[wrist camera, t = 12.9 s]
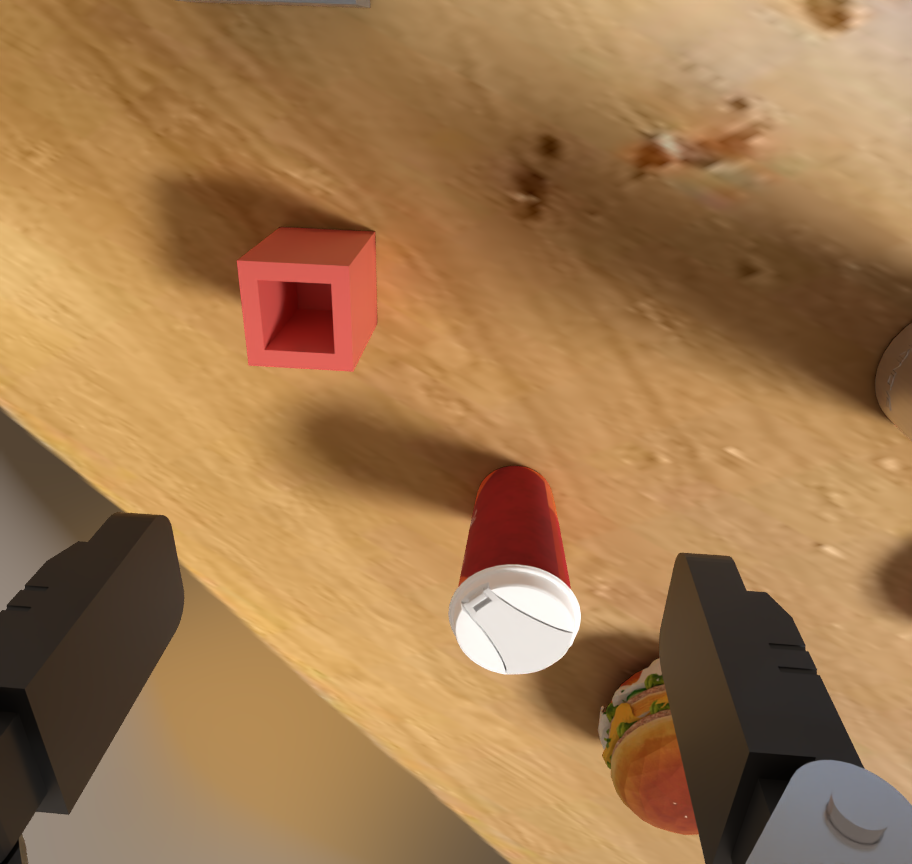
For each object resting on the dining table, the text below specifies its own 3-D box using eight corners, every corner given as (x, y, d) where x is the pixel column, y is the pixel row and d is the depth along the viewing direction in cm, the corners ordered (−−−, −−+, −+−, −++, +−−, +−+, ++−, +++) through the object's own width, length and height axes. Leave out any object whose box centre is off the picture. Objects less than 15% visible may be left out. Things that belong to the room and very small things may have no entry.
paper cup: (441, 493, 54) (419, 626, 42) (519, 432, 51) (519, 556, 39) (512, 557, 56) (510, 701, 44) (590, 502, 53) (612, 640, 41)
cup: (375, 231, 45) (348, 266, 38) (377, 323, 48) (353, 371, 41) (280, 226, 45) (236, 260, 38) (287, 318, 48) (248, 365, 41)
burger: (767, 742, 64) (808, 854, 55) (615, 767, 67) (630, 877, 58) (741, 630, 58) (781, 735, 49) (576, 663, 61) (586, 768, 52)
